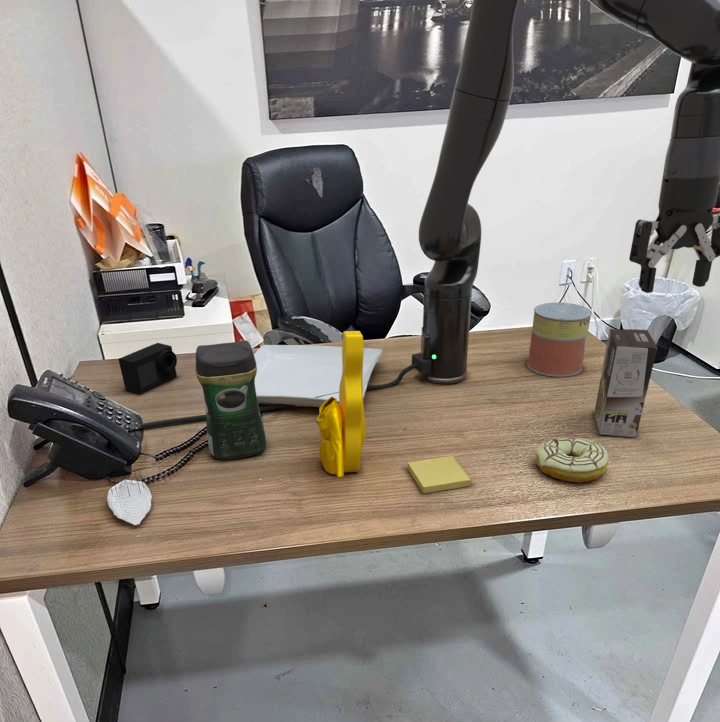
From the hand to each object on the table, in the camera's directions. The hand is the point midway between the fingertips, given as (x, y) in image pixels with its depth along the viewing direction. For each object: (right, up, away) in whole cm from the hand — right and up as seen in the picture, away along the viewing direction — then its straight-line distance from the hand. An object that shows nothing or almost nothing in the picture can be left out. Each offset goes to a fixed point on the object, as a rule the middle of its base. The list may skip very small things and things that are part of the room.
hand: (672, 288), depth 100 cm
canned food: (-7, -5, +39) cm, 40 cm away
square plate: (-59, -10, +33) cm, 68 cm away
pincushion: (-82, -33, -3) cm, 88 cm away
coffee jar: (-69, -24, +11) cm, 74 cm away
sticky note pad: (-36, -29, +2) cm, 46 cm away
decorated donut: (-15, -28, +3) cm, 31 cm away
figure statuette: (-51, -27, +6) cm, 58 cm away
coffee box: (-3, -20, +16) cm, 25 cm away
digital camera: (-91, -10, +35) cm, 98 cm away
